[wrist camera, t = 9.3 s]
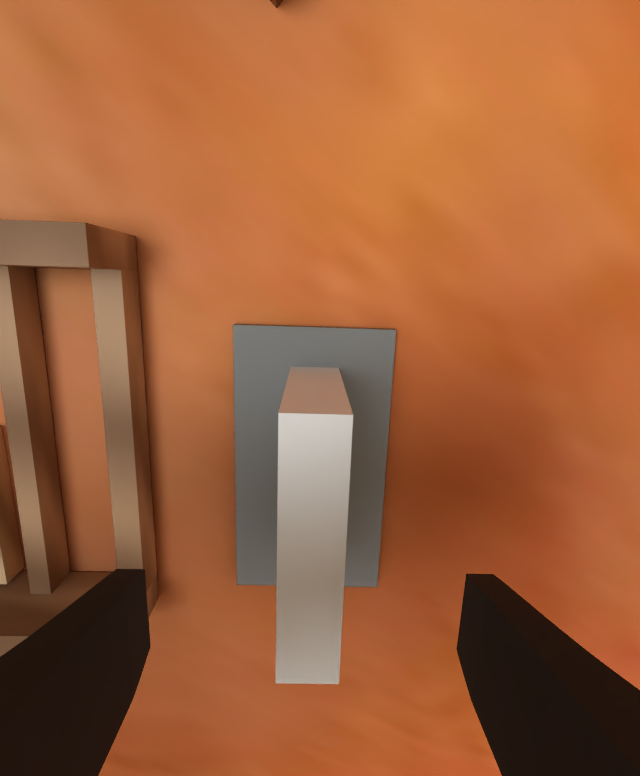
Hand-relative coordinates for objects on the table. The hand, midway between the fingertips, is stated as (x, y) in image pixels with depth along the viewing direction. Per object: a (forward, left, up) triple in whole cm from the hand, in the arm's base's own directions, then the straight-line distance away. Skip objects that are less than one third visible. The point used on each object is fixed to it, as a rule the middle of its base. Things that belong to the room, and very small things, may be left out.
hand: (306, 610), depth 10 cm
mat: (0, 0, -8) cm, 8 cm away
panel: (0, 0, -8) cm, 8 cm away
